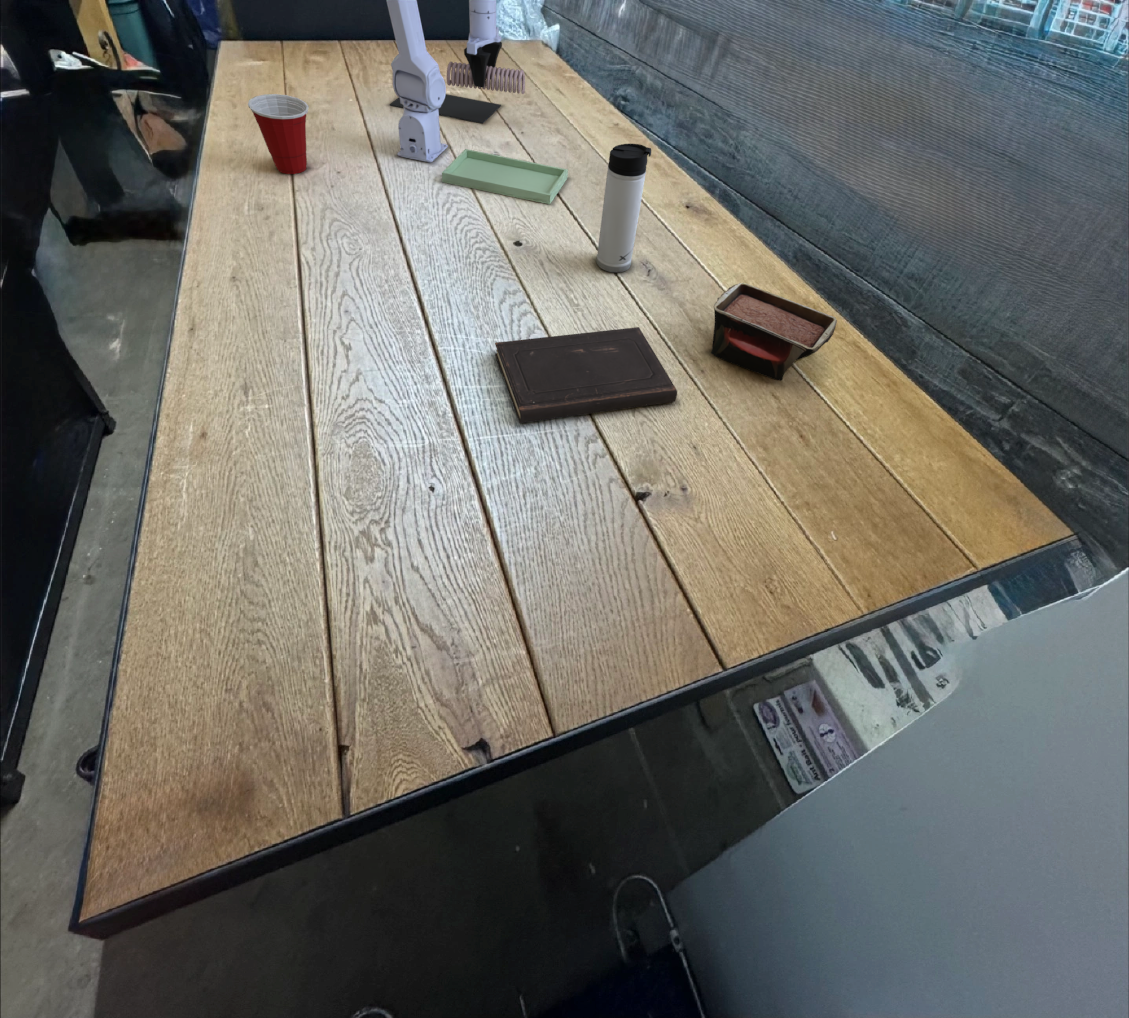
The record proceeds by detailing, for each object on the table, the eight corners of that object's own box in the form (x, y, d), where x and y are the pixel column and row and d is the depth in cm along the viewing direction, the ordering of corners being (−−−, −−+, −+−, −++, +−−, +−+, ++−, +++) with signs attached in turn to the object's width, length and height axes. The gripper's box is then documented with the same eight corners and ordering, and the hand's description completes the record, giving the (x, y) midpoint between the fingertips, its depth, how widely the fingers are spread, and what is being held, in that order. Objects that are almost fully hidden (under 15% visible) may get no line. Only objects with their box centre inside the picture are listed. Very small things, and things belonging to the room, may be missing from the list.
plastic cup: (312, 182, 130) (298, 115, 121) (257, 177, 129) (239, 110, 120) (326, 159, 137) (314, 95, 128) (274, 154, 136) (258, 89, 127)
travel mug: (629, 276, 116) (649, 157, 101) (593, 269, 117) (607, 150, 101) (634, 258, 120) (653, 142, 105) (599, 252, 121) (613, 136, 105)
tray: (549, 204, 132) (550, 195, 130) (442, 182, 134) (441, 172, 133) (567, 178, 140) (568, 169, 138) (465, 157, 143) (465, 148, 141)
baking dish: (738, 323, 113) (744, 269, 105) (838, 354, 104) (853, 297, 97) (693, 365, 106) (697, 310, 98) (797, 403, 97) (809, 345, 90)
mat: (482, 123, 156) (482, 122, 156) (389, 105, 159) (389, 104, 158) (500, 105, 164) (500, 104, 164) (412, 88, 167) (411, 87, 167)
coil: (526, 68, 149) (448, 59, 149) (524, 71, 146) (444, 62, 146) (525, 92, 153) (449, 83, 152) (523, 95, 149) (445, 86, 149)
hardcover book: (495, 355, 98) (495, 342, 97) (636, 339, 104) (639, 326, 102) (520, 426, 89) (520, 413, 87) (674, 404, 94) (678, 391, 92)
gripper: (488, 21, 134) (489, 95, 145) (511, 5, 144) (510, 76, 154) (456, 15, 135) (459, 89, 146) (481, 0, 145) (482, 70, 155)
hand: (483, 82), depth 150 cm, fingers closed on coil, 5 cm apart
